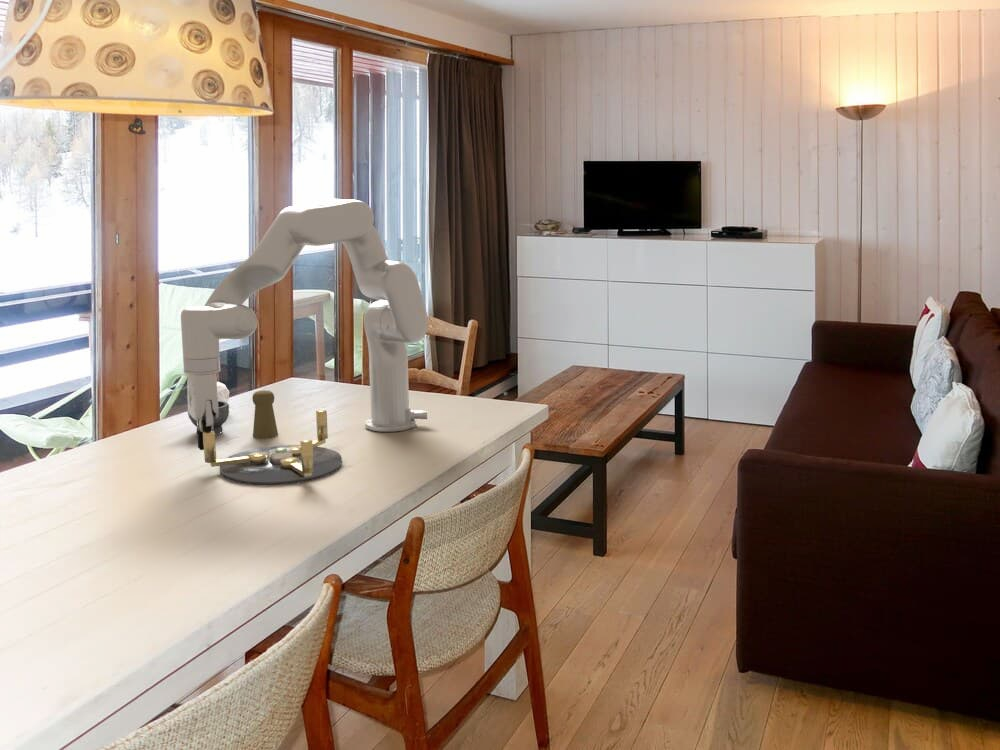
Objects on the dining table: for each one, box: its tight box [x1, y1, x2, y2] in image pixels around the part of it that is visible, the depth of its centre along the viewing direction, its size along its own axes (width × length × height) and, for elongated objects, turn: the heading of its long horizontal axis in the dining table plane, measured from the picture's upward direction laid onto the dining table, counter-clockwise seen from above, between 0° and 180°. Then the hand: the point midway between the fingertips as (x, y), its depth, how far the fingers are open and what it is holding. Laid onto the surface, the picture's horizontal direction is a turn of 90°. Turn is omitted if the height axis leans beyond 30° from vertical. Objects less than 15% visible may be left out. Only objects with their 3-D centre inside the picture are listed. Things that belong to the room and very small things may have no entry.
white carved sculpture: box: [217, 381, 230, 403], centre depth 266 cm, size 6×8×12 cm
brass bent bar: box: [289, 409, 329, 457], centre depth 230 cm, size 13×4×8 cm, turn 153°
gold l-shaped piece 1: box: [203, 431, 267, 468], centre depth 219 cm, size 13×4×8 cm, turn 115°
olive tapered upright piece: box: [251, 389, 279, 439], centre depth 247 cm, size 6×6×11 cm
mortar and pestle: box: [179, 385, 230, 435], centre depth 250 cm, size 11×9×12 cm
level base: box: [219, 444, 343, 486], centre depth 222 cm, size 26×26×4 cm
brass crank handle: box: [280, 439, 314, 477], centre depth 213 cm, size 13×4×8 cm, turn 33°
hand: (206, 448), depth 220 cm, fingers closed
